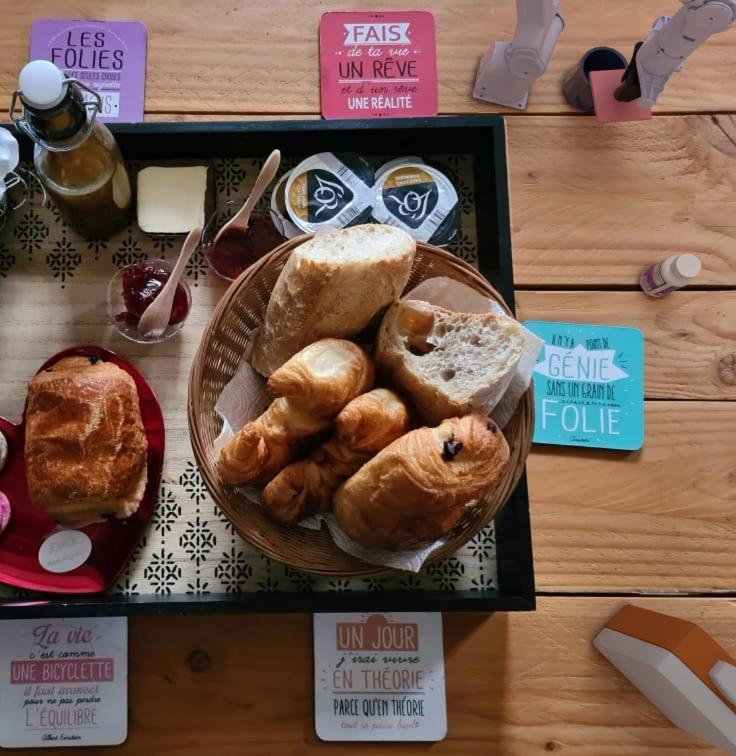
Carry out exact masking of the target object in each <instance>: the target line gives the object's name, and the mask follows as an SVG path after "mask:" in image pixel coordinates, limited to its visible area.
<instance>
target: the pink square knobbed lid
mask: <svg viewBox="0 0 736 756" xmlns="http://www.w3.org/2000/svg"><path fill="white" fill-rule="evenodd" d="M625 70H626V69H621V70H606V71H592V72H590V73H589V77H590V83H591V89H592V95H593V102H594V108H595V111H594V113H595V119H596V124H598V125H599V124H611V123H626V122H639V121H651V120H652V119H653V115H652V107H651V108H650V109H646V108H642V107H639V106H636V105H637V101H638V100H639V99H640V98H641V97H640V98H637V99H635V100H633V101H631V102H629V103H627V102H624V101H620V100H617V97H618V94H619V92H620V91H621V89H622V88H623V87H624V86H625V84H626V82H627V80H628V77H627V78H626V79H625V80H624V81H623V82H621V78H622V76H623V74H624V72H625Z"/></svg>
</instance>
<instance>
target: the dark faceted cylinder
mask: <svg viewBox="0 0 736 756" xmlns="http://www.w3.org/2000/svg"><path fill="white" fill-rule="evenodd" d="M628 65H629V62H628V60H627V59H626V57H625V56H624V55H623V53H621V52H620V51H618V50H616V49H615V48H613V47H609V46H606V45H605V46H604V45H601V46H594V47H593V48H590V49H588V50H587V51H586V52H585V53H584V54H583V55H582V57H580V59H579V60H578V61H577V63H576V64H575V65H574V66H573V67H572V68H571V69H570V71H569V72H568V74H567V75H566V76H565V78H564V80H563V83H562V95H563V96H564V99H565V100H566V102H567V103H568V104H569V105H570V106H571V107H573V108H574V109H575V110H578V111H582V112H595V108H594V102H593V95H592V89H591V83H590V77H589V73H590V72H592V71H606V70H621V69H627V67H628Z"/></svg>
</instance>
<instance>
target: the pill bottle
mask: <svg viewBox="0 0 736 756" xmlns="http://www.w3.org/2000/svg"><path fill="white" fill-rule="evenodd" d="M701 270H702V263H701V261H700V259H699V258H698V257H697V256H696V255H694V254H692V253H682V254H674V255H670V256H667V257H666V258H663V259H662V260H660V261H658V262H656V263H655V264H653V265H651V266H649V267H648V268H646V269H645V270H644V271H642V273H641V275H640V277H639V284H640V287H641V289H642V290H643V291H644V293H645V294H647V295H648V296H650V297H654V298H659V297H663V296H665V295H666V296H667V295H669V294H670V293H673V292H675V291H677V290H679V289H681V288H684V287H686V286H688V285H689V284H690V283H691V282H692V281H693V280H694V278H695V277H696V276H698V275H699V274H700V273H701Z"/></svg>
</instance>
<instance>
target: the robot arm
mask: <svg viewBox="0 0 736 756" xmlns="http://www.w3.org/2000/svg"><path fill="white" fill-rule="evenodd" d="M678 1H679V2H680V3H681V4H682V6H680V8H679V9H678V10H677V11H676V12H675V13H674V14H673V15H672V16H668V15H664V14H660V15H659V16H657V18H656V19H654V21H653V22H652V26H651V27H652V29H651V31H650V32H649V33H648V36H647V37H646V38H645V40H644V41H640V40H639V41H637V42H636V43H635V44H634V46H633V52H632V56H631V59H630V61H629V62H628V67H627V69H626V70H625V72H624V74H623V76H622V78H621V82H623V81H624V80H625V79H626V78H627V77H628V80H627V82H626V84H625V86H624V87H623V88H622V89H621V91H620V92H619V94H618V97H617V100H620V101H624V102H627V103H629V102H631V101H633V100H635V99H637V98H640V97H641V98H640V99H639V100H638V101H637V105H636V106H639V107H642V108H646V109H650V108H651V109H652V107H654V105H655V104H657V101H658V98H659V95H660V94H661V93H662V92H663V91H664V89H665V86H666V85H667V83H668V81H669V80H670V78H671V77H672V76H673V74H674V73H680V72H682V71H683V70H684V68H685V60H686V59H687V58H688V57H690V56H691V54H693V53H694V52H695V51H696V50H697V49H698V48H699V47H700V46H702V44H704V43H705V42H706V41H707V40H708V39H709V38H710V37H711V36H712V35H716V34H720V33H723V32H724V33H725V32H726V31H728V30H730V29H731V28H733V27H734V25H733V23H734V22H735V21H736V0H678ZM515 6H516V26H515V30H514V34H513V38H512V39H511V40H506V41H500V40H493V41H492V42H491V44H490V46H489V47H488V49H487V50H486V52H485V53H484V55H483V56H482V57H481V58H480V61H479V65H478V68H477V72H476V78H475V83H474V87H473V91H472V98H474V99H477V100H481V101H485V102H489V103H493V104H497V105H501V106H505V107H509V108H512V109H517V110H521V111H524V110H525V109H526V106H527V101H528V97H529V94H530V93H529V92H530V89H531V87H532V86H533V84H534V83H535V82H536V81H537V79H539V78H541V77H543V76H544V74H546V72H547V70H548V65H549V62H550V60H551V57H552V55H553V53H554V50H555V48H556V45H557V43H558V41H559V38H560V36H561V34H562V32H563V30H564V29H565V27H566V19H565V17H564V15H563V13H562V12H561V10H560V2H559V1H557V0H515Z"/></svg>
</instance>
